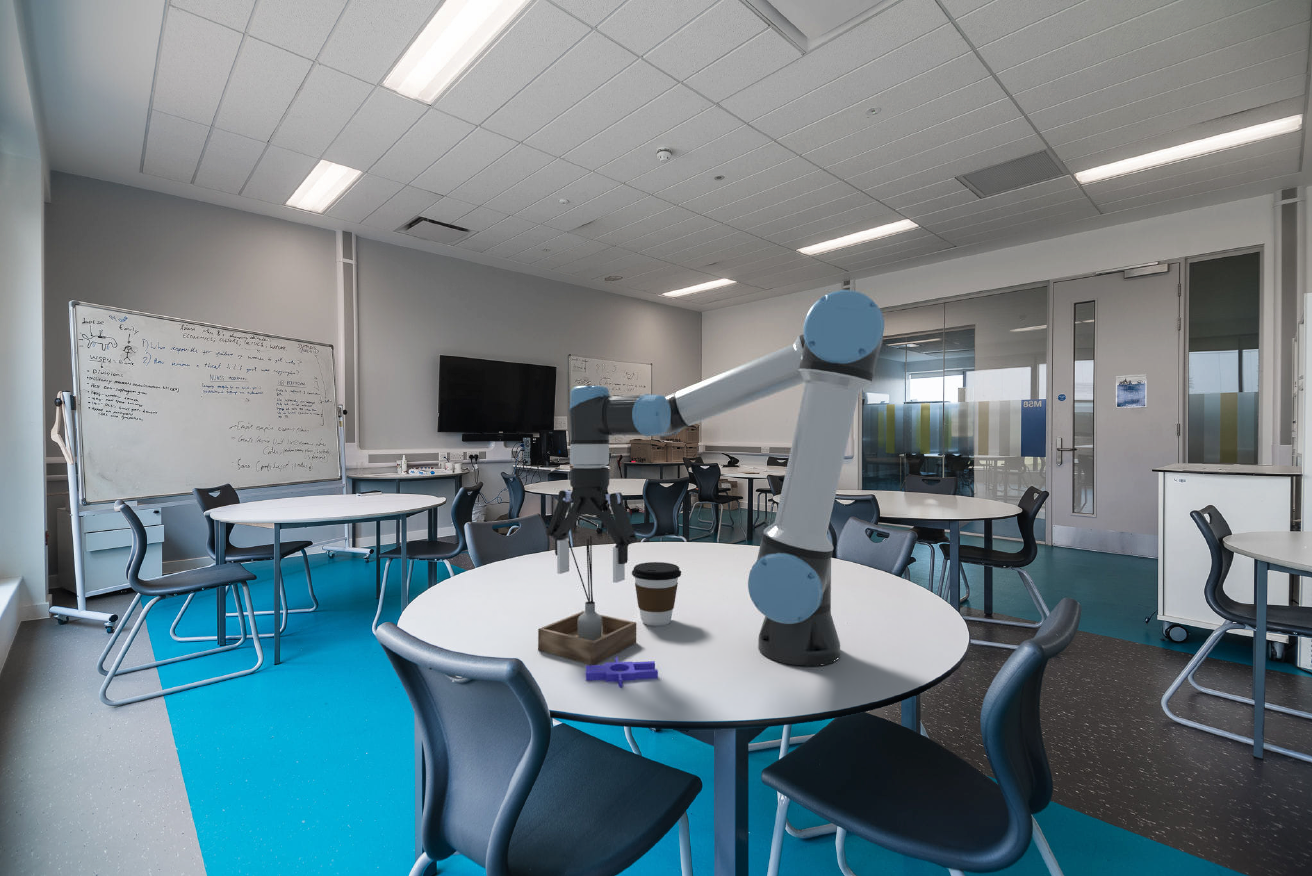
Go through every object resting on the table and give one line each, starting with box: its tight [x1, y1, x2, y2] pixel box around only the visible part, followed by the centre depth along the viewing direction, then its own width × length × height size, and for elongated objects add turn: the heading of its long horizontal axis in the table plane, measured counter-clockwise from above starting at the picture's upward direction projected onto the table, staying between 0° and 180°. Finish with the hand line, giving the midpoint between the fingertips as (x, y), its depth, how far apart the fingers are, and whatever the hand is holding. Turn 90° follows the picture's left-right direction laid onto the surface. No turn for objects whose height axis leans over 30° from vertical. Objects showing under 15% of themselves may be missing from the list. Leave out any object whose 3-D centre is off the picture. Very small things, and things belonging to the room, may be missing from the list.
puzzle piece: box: [585, 656, 659, 688], centre depth 98 cm, size 10×12×2 cm
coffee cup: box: [631, 561, 682, 627], centre depth 126 cm, size 11×11×12 cm
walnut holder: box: [537, 610, 637, 665], centre depth 111 cm, size 13×13×4 cm
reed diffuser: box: [568, 535, 603, 641], centre depth 111 cm, size 10×7×20 cm
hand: (590, 576), depth 111 cm, fingers open, 13 cm apart
